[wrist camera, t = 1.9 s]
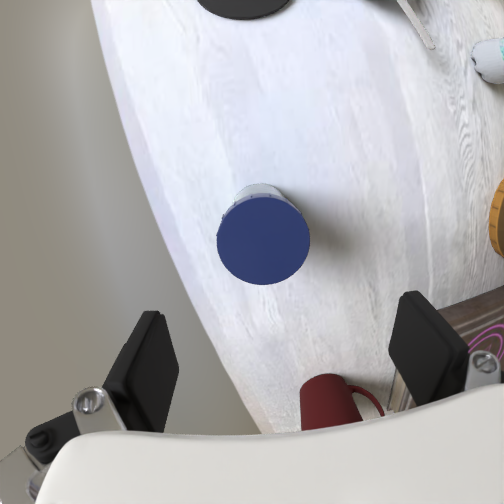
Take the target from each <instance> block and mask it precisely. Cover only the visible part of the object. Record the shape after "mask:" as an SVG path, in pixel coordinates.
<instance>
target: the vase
mask: <svg viewBox="0 0 504 504" xmlns="http://www.w3.org/2000/svg"><path fill="white" fill-rule="evenodd" d="M489 235H490V240H491V244H492V247H493V248H494V250H495V251H496V252H497V253H498V254H499V255H501V256H502V257H504V179H503V180H502V182H501V183H500V185H499V187H498V188H497V190H496V192H495V195H494V198H493V201H492V205H491V210H490V216H489Z"/></svg>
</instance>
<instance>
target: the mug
mask: <svg viewBox="0 0 504 504" xmlns="http://www.w3.org/2000/svg"><path fill="white" fill-rule="evenodd" d="M354 392H356V393H360V394H362V395H364V396H366V397H367V398H368V399H370V400H371V401H372V402H373V404H374V405H375V406H376V408H377V409H378V411H379V413H380V415H381V417H383V416H385V415H384V412H383V409H382V407H381V405H380V404H379V402H378V401H377V399H376V398H375V397H374V396H373V395H372V394H371V393H370V392H368V391H367V390H365V389H363V388H361V387H359V386H354V385H347V384H346V383H345V381H344V379H343V378H342V377H341V376H339V375H335V374H323V375H319V376H316V377H314V378H311V379H310V380H308V381H307V382H306V383H305V384H304V385H303V386H302V387H301V389H300V410H301V431H306V430H313V429H321V428H327V427H334V426H340V425H345V424H351V423H356V422H361V421H363V419H362V417H361V415H360V413H359V411H358V408H357V406H356V404H355V402H354V400H353V397H352V393H354Z"/></svg>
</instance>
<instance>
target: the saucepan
mask: <svg viewBox="0 0 504 504" xmlns="http://www.w3.org/2000/svg"><path fill="white" fill-rule="evenodd" d="M396 1H397V2H398V3H399V5H400V6H401V8H402V9H403V10H404V12H405V13H406V15H407V16H408V18H409V19H410V21H411V22H412V24H413V26H414V27H415V29H416V30H417V32H418V34H419V35H420V37H421V39H422V40H423V42H424V44H425V45H426V47H427V48H428V49H429V50H434V49H435V45H434V43H433V41H432V39H431V38H430V36H429V34H428V33H427V31H426V29H425V28H424V26H423V25H422V23H421V21H420V20H419V18H418V17H417V15H416V14H415V12H414V11H413V9H412V8H411V6H410V5H409V4H408V2H407V1H406V0H396Z"/></svg>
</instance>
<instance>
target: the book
mask: <svg viewBox="0 0 504 504" xmlns="http://www.w3.org/2000/svg"><path fill="white" fill-rule="evenodd" d="M437 311H438V312H439V313H440V314H441V315H442V316H443V318H444V319H445V320H446V321H447V322H448V323H449V324H450V325H451V326H452V328H453V329H454V330H455V331H456V332H457V333H458V334H459V336H460V337H461V338H462V339H463V340H464V341H465V342H466V344H467V345H468V346H469V347H470V349H469V351H468V353H469V354H470V355H471V354H472V353H473V352H475V351H479V350H483V351H488V352H490V353H492V354H494V355H495V356H496V357H497V358H498V360H499V361H500V365H501V370H502V371H504V286H501V287H499V288H497V289H494V290H492V291H489V292H487V293H484V294H482V295H479V296H476V297H474V298H471V299H468V300H466V301H463V302H460V303H457V304H455V305H452V306H449V307H446V308H443V309H440V310H437ZM416 407H417V406H416V404H415V402H414V400H413V398H412V396H411V394H410V392H409V390H408V388H407V386H406V385H405V383H404V381H403V379H402V377H401V375H400V373H399V372H398V370H397V368H396V370H395V375H394V380H393V385H392V389H391V394H390V398H389V402H388V406H387V411H390V410H393V411H394V413H398V412H402V411H406V410H409V409H412V408H416Z"/></svg>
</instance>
